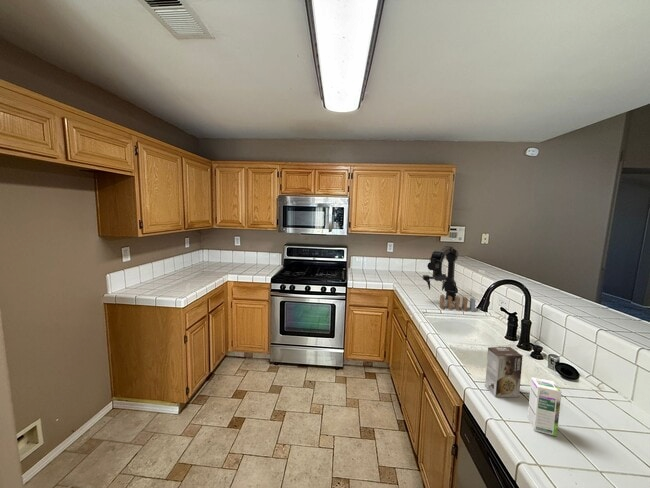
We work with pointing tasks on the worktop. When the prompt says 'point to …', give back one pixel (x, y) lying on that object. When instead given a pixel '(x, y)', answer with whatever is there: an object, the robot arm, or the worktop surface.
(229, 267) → the worktop surface
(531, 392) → the syrup box
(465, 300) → the domino
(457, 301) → the domino
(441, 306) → the domino
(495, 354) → the coffee box
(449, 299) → the domino
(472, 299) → the domino
